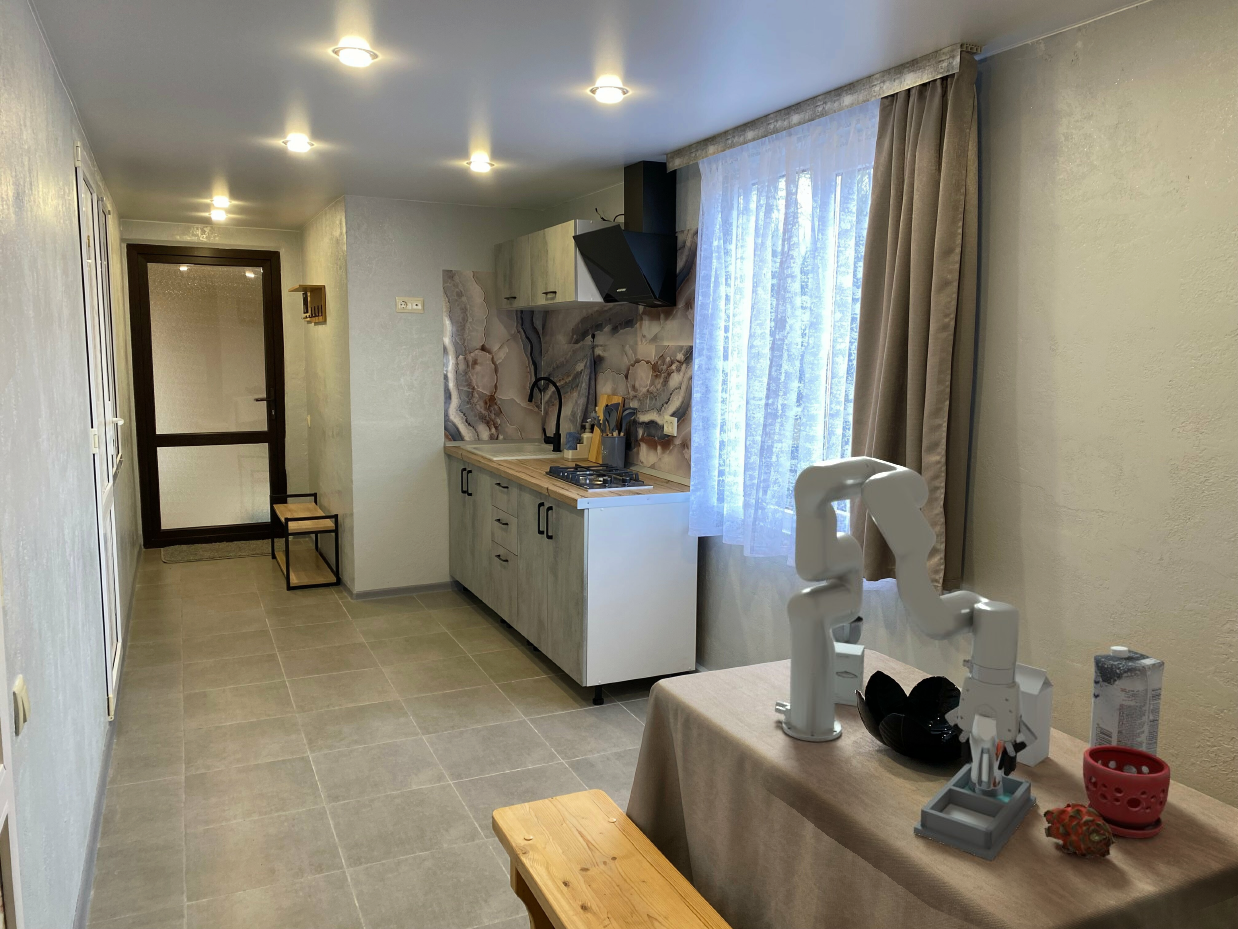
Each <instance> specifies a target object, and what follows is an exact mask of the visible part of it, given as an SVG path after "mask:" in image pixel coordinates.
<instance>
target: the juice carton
mask: <svg viewBox="0 0 1238 929" xmlns="http://www.w3.org/2000/svg"><path fill="white" fill-rule="evenodd" d="M1093 665H1094V670H1093V672H1094V673H1093V688H1092V703H1091V716H1090V718H1091V719H1090V734H1089V747H1088V749H1089V748H1091V747H1095V746H1102V745H1114V746H1123V747H1129V748H1134V749H1138V750H1141V751H1145V752H1148V753H1150V754H1152V755H1155V756H1157V752H1158V750H1157V749H1158V739H1159V738H1158V737H1159V729H1160V728H1159V727H1160V726H1159V724H1160V713H1161V700H1162V699H1161V697H1162V688H1163V686H1162V685H1163V675H1164V670H1165V661H1163V660H1161V659H1157V658H1155V657H1151V656H1149V655H1146V654H1143V653H1140V652H1137V651H1134V650H1132V649H1129V648H1128V647H1126V646H1120V645H1117V646H1115V645H1114V646H1110V653H1108V654H1106V653H1105V654H1095V655H1094V656H1093ZM1098 764H1099V765H1100V764H1101V761H1099V762H1098ZM1109 766H1110V767H1111V768H1114V767H1115V766H1116V762H1114V761H1111V762H1110V763H1109ZM1142 770H1143V772H1144V773H1148V772H1149V770H1148V768H1147V767H1145V766H1143V767H1142ZM1124 772H1125V773H1129V774H1137V771H1136V769H1135V768H1134V767H1133V766H1131V765H1127V766H1125V767H1124ZM1093 779H1094V777H1093V776H1092V780H1093Z"/></svg>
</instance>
